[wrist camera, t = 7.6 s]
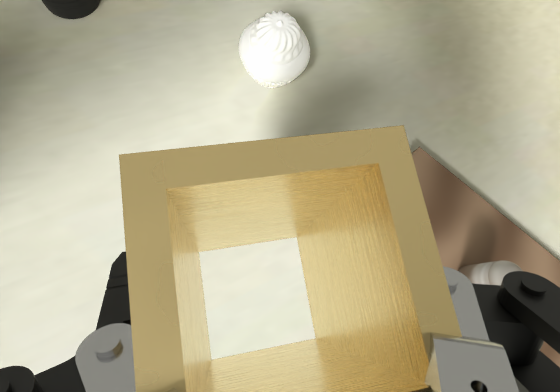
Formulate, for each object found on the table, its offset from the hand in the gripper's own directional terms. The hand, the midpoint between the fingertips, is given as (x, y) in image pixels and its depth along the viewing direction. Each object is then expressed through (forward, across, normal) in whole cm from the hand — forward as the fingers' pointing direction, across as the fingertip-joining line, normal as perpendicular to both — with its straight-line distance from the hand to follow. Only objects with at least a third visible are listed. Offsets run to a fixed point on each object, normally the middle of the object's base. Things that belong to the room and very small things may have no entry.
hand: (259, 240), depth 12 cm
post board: (+10, -19, +16) cm, 26 cm away
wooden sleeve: (+2, 0, +4) cm, 5 cm away
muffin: (+26, -6, 0) cm, 26 cm away
